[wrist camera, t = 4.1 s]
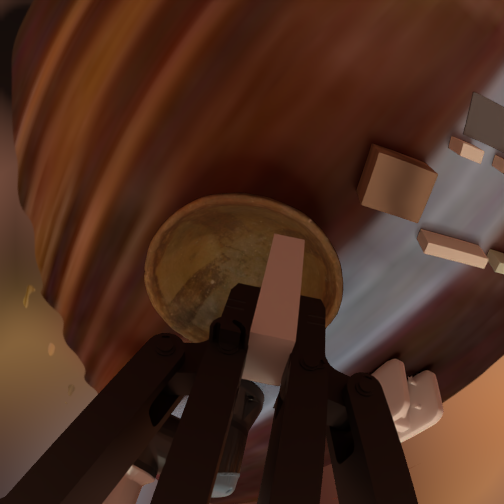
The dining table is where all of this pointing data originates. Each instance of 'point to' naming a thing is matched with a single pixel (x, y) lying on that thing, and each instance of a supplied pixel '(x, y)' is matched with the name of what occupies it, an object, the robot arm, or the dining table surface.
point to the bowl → (231, 258)
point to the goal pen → (496, 260)
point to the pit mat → (485, 122)
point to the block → (395, 183)
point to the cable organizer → (410, 398)
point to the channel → (448, 245)
